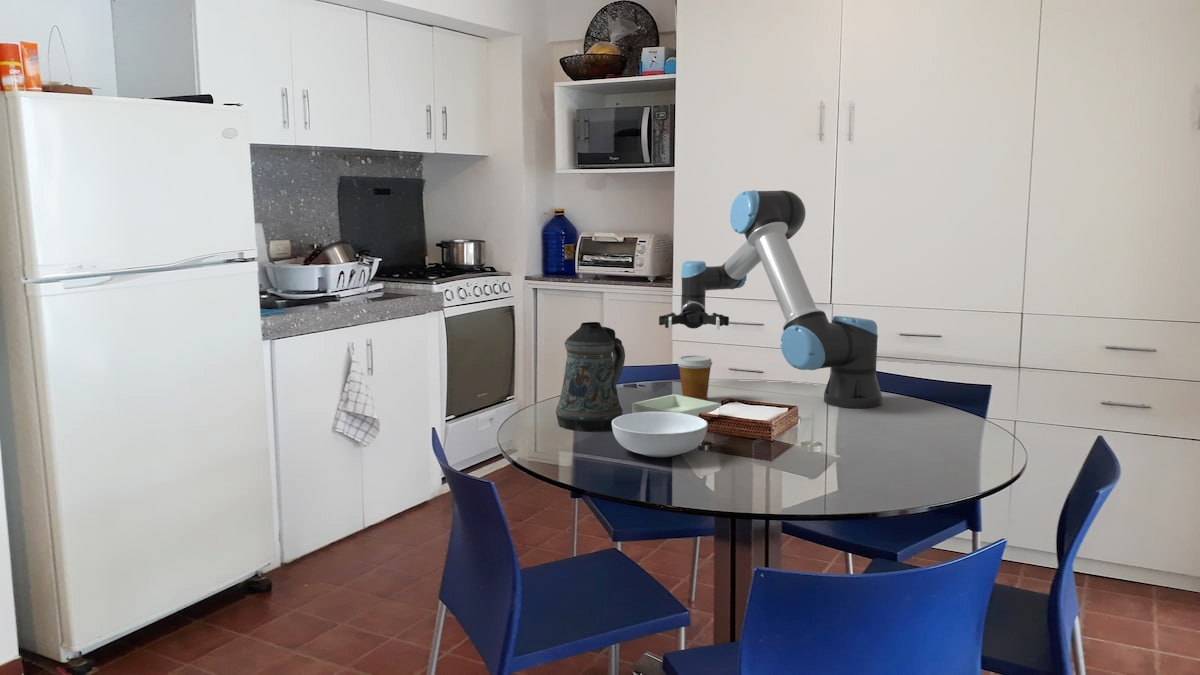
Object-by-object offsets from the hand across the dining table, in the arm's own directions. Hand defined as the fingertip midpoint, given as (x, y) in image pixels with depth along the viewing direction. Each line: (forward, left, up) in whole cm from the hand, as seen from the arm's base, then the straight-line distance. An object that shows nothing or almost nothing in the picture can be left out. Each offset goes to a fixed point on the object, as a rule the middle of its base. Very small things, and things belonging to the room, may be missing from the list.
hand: (694, 324), depth 252 cm
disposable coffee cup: (-7, +7, -20) cm, 22 cm away
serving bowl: (-36, +50, -20) cm, 65 cm away
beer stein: (-5, +43, -20) cm, 48 cm away
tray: (-16, +24, -20) cm, 35 cm away
